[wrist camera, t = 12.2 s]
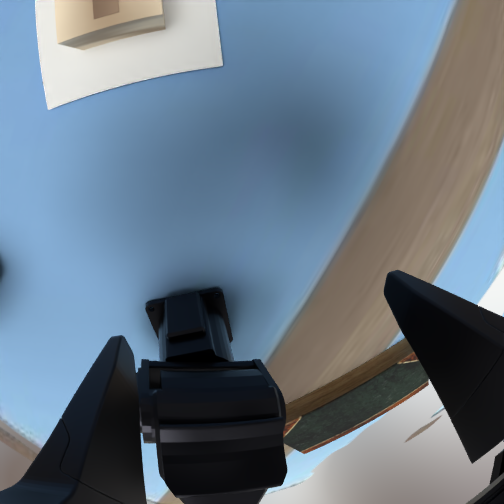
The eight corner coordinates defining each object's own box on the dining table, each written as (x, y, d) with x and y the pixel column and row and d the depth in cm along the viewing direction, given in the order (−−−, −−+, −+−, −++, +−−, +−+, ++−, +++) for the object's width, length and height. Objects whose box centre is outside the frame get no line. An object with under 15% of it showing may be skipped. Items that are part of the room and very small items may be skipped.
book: (417, 323, 37) (258, 412, 39) (431, 341, 34) (265, 433, 36) (419, 372, 47) (299, 439, 49) (429, 386, 44) (305, 455, 46)
